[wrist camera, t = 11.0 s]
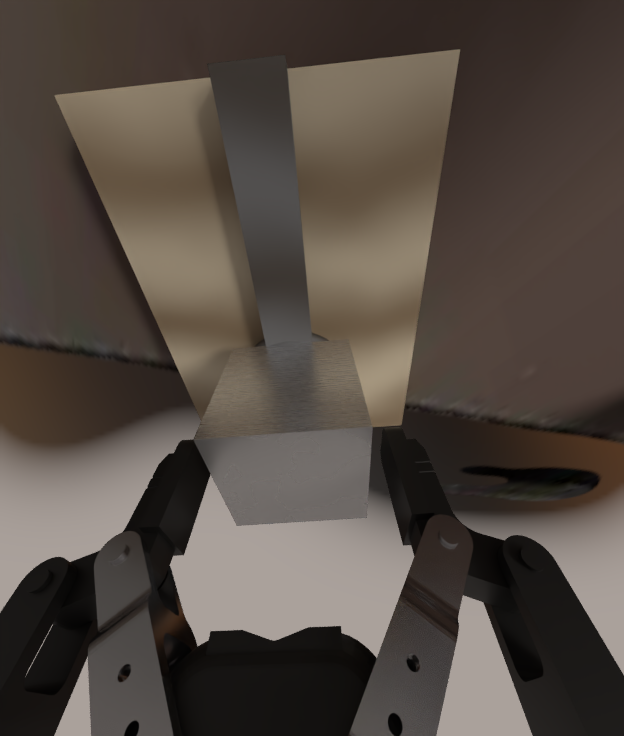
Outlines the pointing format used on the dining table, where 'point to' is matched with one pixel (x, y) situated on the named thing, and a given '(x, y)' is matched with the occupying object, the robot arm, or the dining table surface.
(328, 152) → the board
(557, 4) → the dining table surface
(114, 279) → the dining table surface
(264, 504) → the brushed steel cube
